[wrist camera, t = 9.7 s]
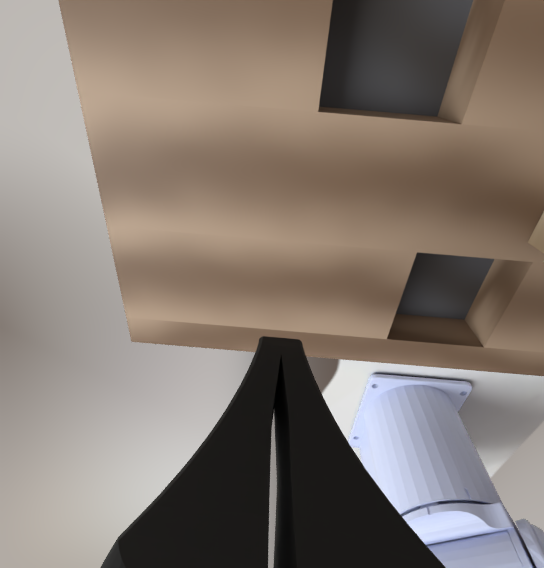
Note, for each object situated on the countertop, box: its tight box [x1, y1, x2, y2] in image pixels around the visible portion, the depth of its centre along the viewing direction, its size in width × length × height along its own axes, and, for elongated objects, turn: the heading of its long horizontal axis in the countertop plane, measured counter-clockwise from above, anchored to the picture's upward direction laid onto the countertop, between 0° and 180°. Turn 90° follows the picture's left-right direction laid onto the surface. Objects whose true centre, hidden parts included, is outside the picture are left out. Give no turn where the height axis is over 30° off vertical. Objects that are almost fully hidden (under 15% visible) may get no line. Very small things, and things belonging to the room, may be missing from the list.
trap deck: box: [59, 0, 544, 376], centre depth 17 cm, size 22×28×3 cm
